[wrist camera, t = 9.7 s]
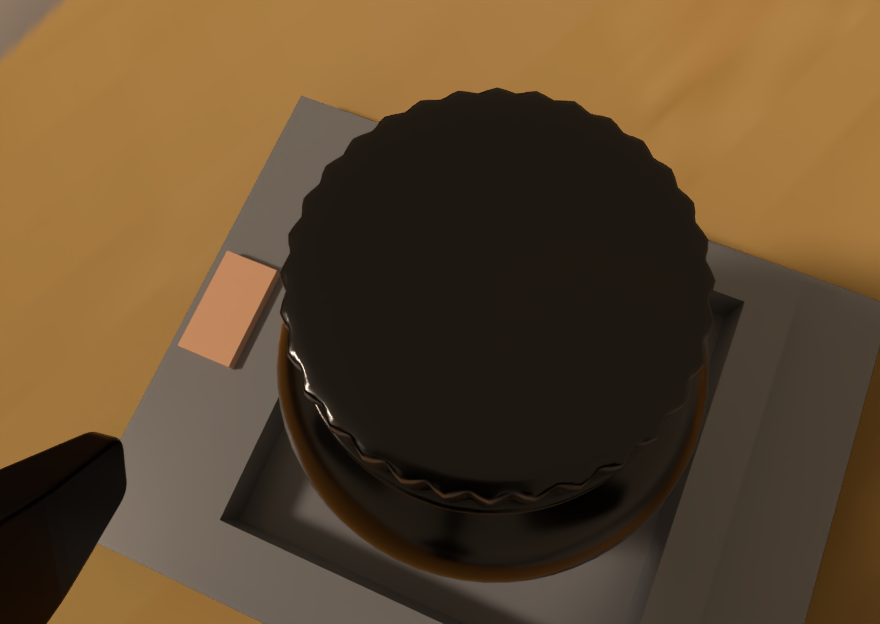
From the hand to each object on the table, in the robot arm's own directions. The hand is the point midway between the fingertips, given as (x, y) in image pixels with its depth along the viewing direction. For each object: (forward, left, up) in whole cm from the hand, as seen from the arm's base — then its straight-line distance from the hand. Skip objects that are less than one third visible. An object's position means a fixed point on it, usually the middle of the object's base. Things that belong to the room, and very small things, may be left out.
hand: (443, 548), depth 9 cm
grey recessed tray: (+3, 0, -11) cm, 11 cm away
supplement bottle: (+3, 0, -10) cm, 10 cm away
